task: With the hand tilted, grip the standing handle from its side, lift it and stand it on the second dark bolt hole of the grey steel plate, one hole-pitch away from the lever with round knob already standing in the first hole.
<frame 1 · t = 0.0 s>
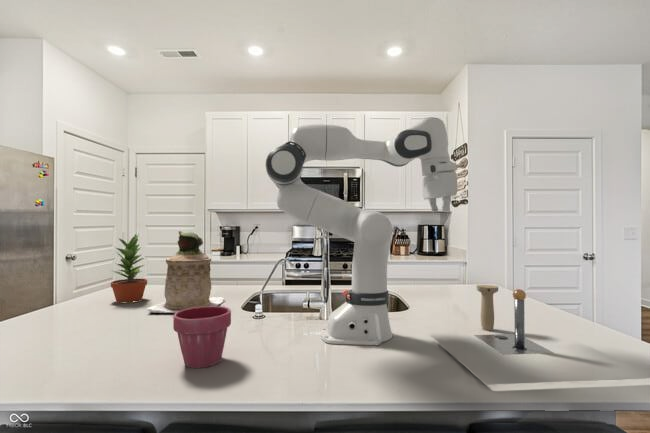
hand: (440, 212, 117), 39 cm above the counter, tool pointing down, fingers open, 8 cm apart
cookie jar: (188, 307, 153), on the counter
lever with round knob: (519, 348, 100), resting on plate
handle: (487, 333, 117), on the counter
plant pot: (202, 361, 95), on the counter
potted plant: (129, 301, 165), on the counter
plate: (511, 347, 104), on the counter
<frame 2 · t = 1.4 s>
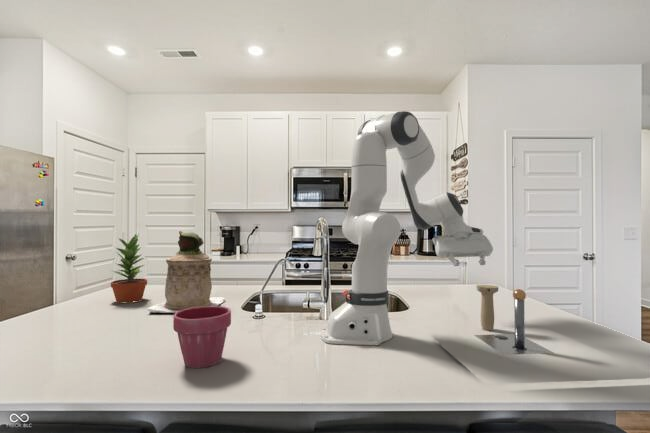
hand: (470, 264, 130), 20 cm above the counter, tool tilted 45°, fingers open, 8 cm apart
nothing on the counter moved.
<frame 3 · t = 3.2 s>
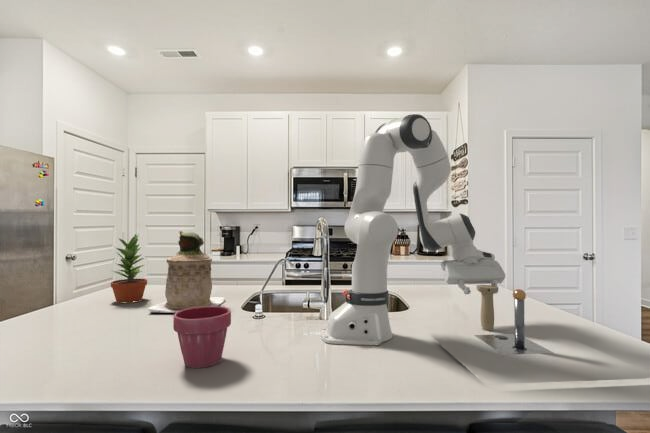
hand: (481, 293, 121), 12 cm above the counter, tool tilted 45°, fingers open, 8 cm apart
nothing on the counter moved.
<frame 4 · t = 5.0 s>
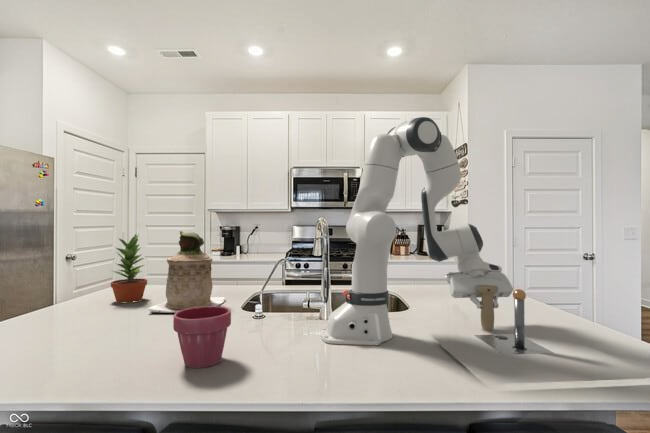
hand: (488, 307, 117), 8 cm above the counter, tool tilted 45°, fingers closed on handle, 3 cm apart
handle: (487, 333, 117), on the counter, touching gripper
everything else where it was.
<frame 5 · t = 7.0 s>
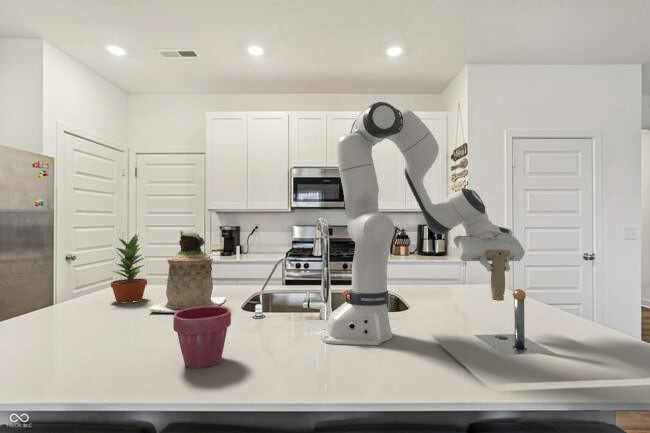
hand: (499, 270, 110), 21 cm above the counter, tool tilted 45°, fingers closed on handle, 3 cm apart
handle: (497, 300, 111), point 12 cm above the counter, touching gripper
everything else where it was.
when the fingers open (11 cm above the counter, at t = 9.4 s): handle stays where it is, resting on plate.
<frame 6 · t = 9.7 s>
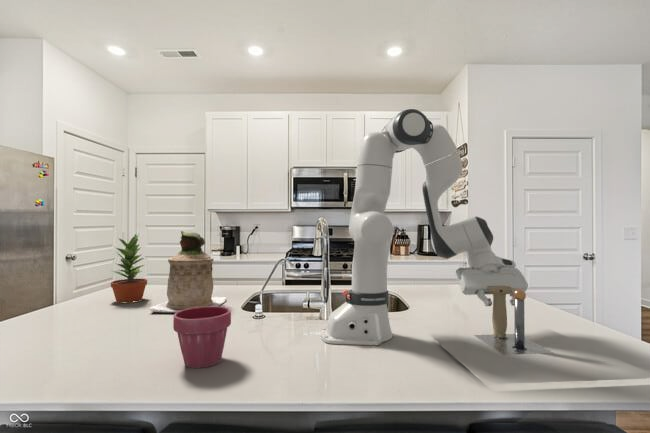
hand: (502, 305, 109), 11 cm above the counter, tool tilted 45°, fingers open, 7 cm apart
handle: (499, 337, 110), point 1 cm above the counter, touching plate
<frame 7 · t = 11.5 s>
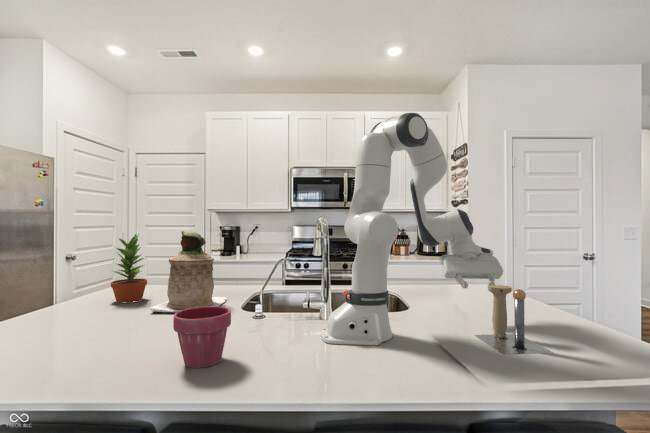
hand: (479, 287, 122), 14 cm above the counter, tool tilted 45°, fingers open, 8 cm apart
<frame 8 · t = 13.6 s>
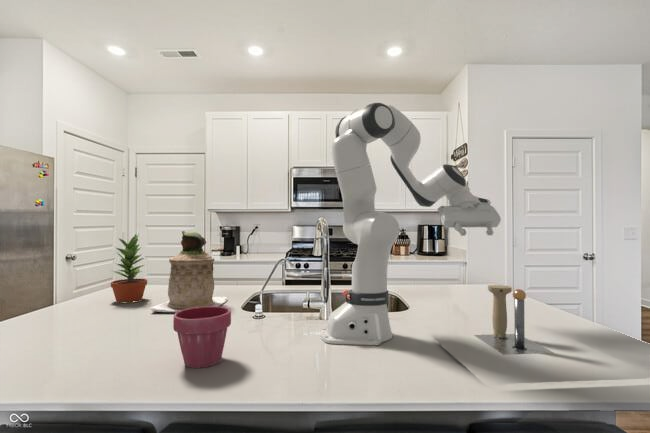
hand: (477, 234, 124), 31 cm above the counter, tool tilted 45°, fingers open, 8 cm apart
at the end: handle 0.4 cm from the target spot on the plate, point 1.1 cm above the plate's base; handle tilted 0°; the gripper is holding nothing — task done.
